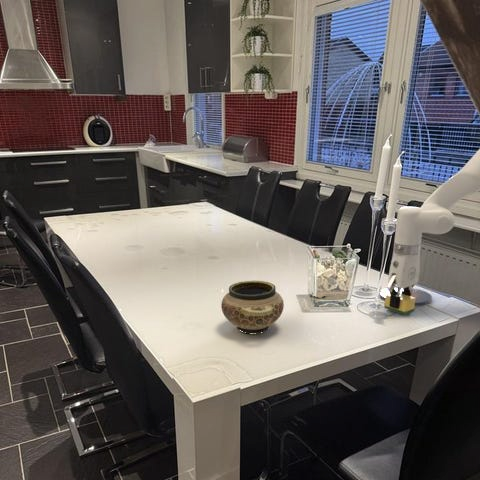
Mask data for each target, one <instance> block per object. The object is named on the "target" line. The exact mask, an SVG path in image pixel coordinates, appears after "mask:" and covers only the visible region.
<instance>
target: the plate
mask: <svg viewBox="0 0 480 480" xmlns="http://www.w3.org/2000/svg"><path fill="white" fill-rule="evenodd" d="M397 289H398V288H395V290H396V291H397ZM380 291H381V292H379V298H380V299H381V300H383V301H384V302H385V298H386V295H388V294H390V292H389V291H388V290H387V287H386V288H383V289H381V290H380ZM401 291H403V289H401ZM410 293H411V297H415V298H416V300H415V307H420V306H425V305H429V304H430V303H431V302H432V299H433V296H432V294H431V293H429V292H428V291H425V290H422V289H419V288H414V287H413V291H412V292H410ZM400 294H401V292H400Z"/></svg>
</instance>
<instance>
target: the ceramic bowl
mask: <svg viewBox="0 0 480 480" xmlns="http://www.w3.org/2000/svg"><path fill="white" fill-rule="evenodd" d="M276 288H277V287H276V285H275V284H274V283H271V282H269V281H265V280H246V281H245V280H244V281H239V282H235V283H233V284H231V285H230V286H229V287H228V292H227V293H226V294H225V295H224V296H223V297H222V300H221V306H220V307H221V311H222V314H223V315H224V317H225V319H226V320H228V322H229V323H230V324H232V325H234V326H236V329H237V328H238V329H239V330H241V331H243V332H246V333H261V332H264V333H266V332H267V331H269V329H268V328H270V326H271V325H273V324H274V323H275V322H277V320H278V319H279V318H280V317H281V316H282V314H283V311H284V306H285V304H284V299H283V297H282V296H281V294H280V293H278V292H277V291H276ZM266 330H267V331H266ZM265 331H266V332H265ZM261 334H262V333H261Z"/></svg>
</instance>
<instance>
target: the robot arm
mask: <svg viewBox="0 0 480 480" xmlns="http://www.w3.org/2000/svg"><path fill="white" fill-rule="evenodd" d="M477 193H480V148H479V149H478V150H477V151H476V152H475V153H474V155H472V157H471V158H470V159H469V160H468V161H467V162H466V163H465V165H463V167H462V168H461V169H460V170H459V171H457V172H456V173H455V174H453V176H451V177H450V178H449V179H447V180H446V181H444V182H443V183H442V184H441V185H439V187H437V188H436V189H435V190H434V191H433V192H432V194H430V196H429V197H428V198H427V199H426V200H425V201H424V202H423V203H422V205H421V206H420V207H419V206H418V207H417V206H402V207H400V208H399V209H398V211H397V215H396V224H395V233H394V242H393V249H392V250H393V251H392V256H391V262H390V265H389V272H388V279H387V280H388V281H387V282H388V284H387V285H386V288H387V290H388V291H389V292H390V295H391V296H390V304H389V306H390V307H392V308H395V309H399V305H400V297H399V295H400V292H401V294H404V295H407V296H411V293H410V292H412V291H413V288H414V287H415V285H417V284H418V283H419V279H420V273H421V272H420V270H421V253H420V251H421V245H422V238H423V234H431V235H443V234H446V233H448V232H450V231H452V229H453V228H454V225H455V222H456V219H455V216H454V213H452V211H450V210H451V208H452V207H453V206H454V205H455V204H457V203H458V202H459V201H461V200H463V199H464V198H466V197H468V196H472V195H474V194H477ZM395 288H398V289H397V291H396V290H395ZM401 289H403V291H401Z"/></svg>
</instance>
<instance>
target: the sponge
mask: <svg viewBox="0 0 480 480" xmlns="http://www.w3.org/2000/svg"><path fill="white" fill-rule="evenodd" d="M390 296H391V295H390V294H388V295H386V298H385V301H384V307H383V308H384V309H386V310H390V311H392V312H395V313H399V314H401V315H407V314H410V313H412V312H414V311H415V307H416V306H415V300H416V298H415V297H411V296H407V295H404V294H400V295H399V297H400V305H399V309H395V308H392V307H390V306H389V304H390Z"/></svg>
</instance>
